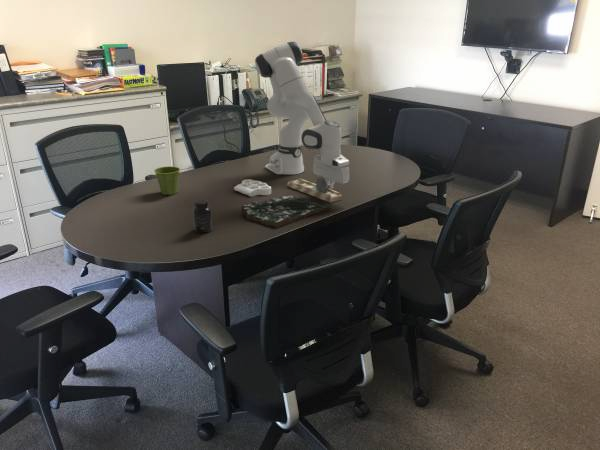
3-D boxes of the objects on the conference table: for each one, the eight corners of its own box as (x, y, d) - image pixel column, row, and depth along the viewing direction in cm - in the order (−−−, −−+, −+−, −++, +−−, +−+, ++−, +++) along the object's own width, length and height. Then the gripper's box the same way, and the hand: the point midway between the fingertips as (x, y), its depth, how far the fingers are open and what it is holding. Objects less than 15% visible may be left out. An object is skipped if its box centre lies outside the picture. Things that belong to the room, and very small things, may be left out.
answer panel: (287, 186, 249) (287, 180, 247) (298, 183, 253) (298, 177, 252) (330, 202, 228) (331, 196, 227) (341, 199, 232) (342, 193, 231)
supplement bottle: (195, 226, 202) (193, 198, 197) (212, 226, 202) (210, 198, 198) (193, 234, 195) (191, 204, 191) (211, 233, 196) (209, 204, 191)
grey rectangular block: (316, 190, 236) (316, 178, 233) (322, 188, 238) (322, 176, 236) (322, 192, 233) (322, 180, 230) (328, 190, 235) (328, 178, 233)
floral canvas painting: (327, 210, 221) (327, 203, 220) (271, 231, 200) (270, 224, 199) (286, 195, 238) (286, 189, 237) (230, 213, 217) (230, 207, 215)
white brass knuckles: (230, 190, 243) (253, 183, 253) (254, 199, 232) (277, 192, 241) (229, 183, 242) (253, 177, 252) (254, 192, 230) (277, 185, 240)
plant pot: (187, 190, 241) (185, 168, 237) (171, 198, 231) (169, 174, 227) (167, 187, 246) (165, 164, 241) (151, 194, 236) (148, 171, 231)
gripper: (309, 154, 231) (309, 183, 237) (342, 164, 217) (340, 195, 223) (319, 152, 235) (319, 180, 241) (352, 161, 221) (350, 191, 226)
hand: (329, 187), depth 231 cm, fingers closed
